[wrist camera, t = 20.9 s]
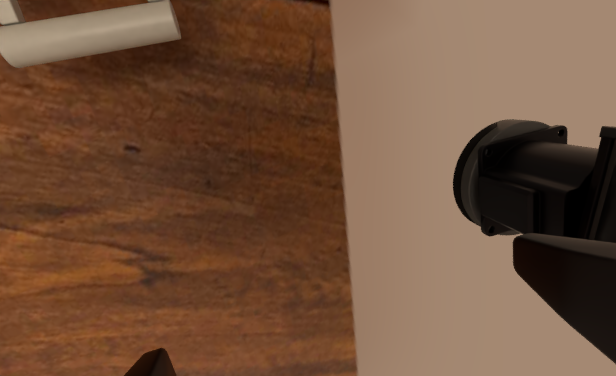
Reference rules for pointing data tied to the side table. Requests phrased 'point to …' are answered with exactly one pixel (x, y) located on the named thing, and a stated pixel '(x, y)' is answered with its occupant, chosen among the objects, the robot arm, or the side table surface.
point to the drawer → (83, 32)
